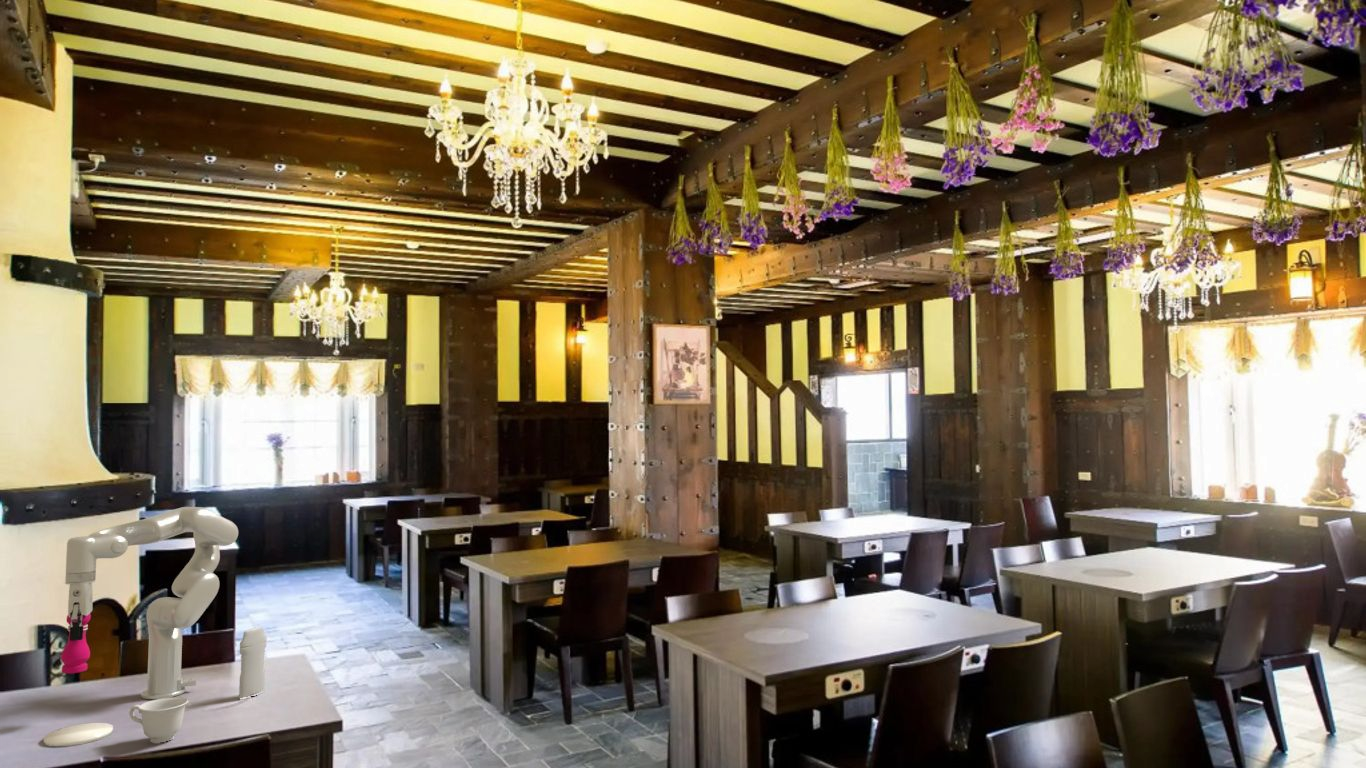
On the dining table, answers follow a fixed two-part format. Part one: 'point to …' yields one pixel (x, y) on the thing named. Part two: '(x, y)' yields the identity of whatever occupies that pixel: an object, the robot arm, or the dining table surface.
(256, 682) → the tall pale column
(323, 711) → the dining table surface
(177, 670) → the robot arm
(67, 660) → the pepper mill
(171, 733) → the teacup
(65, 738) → the plate
